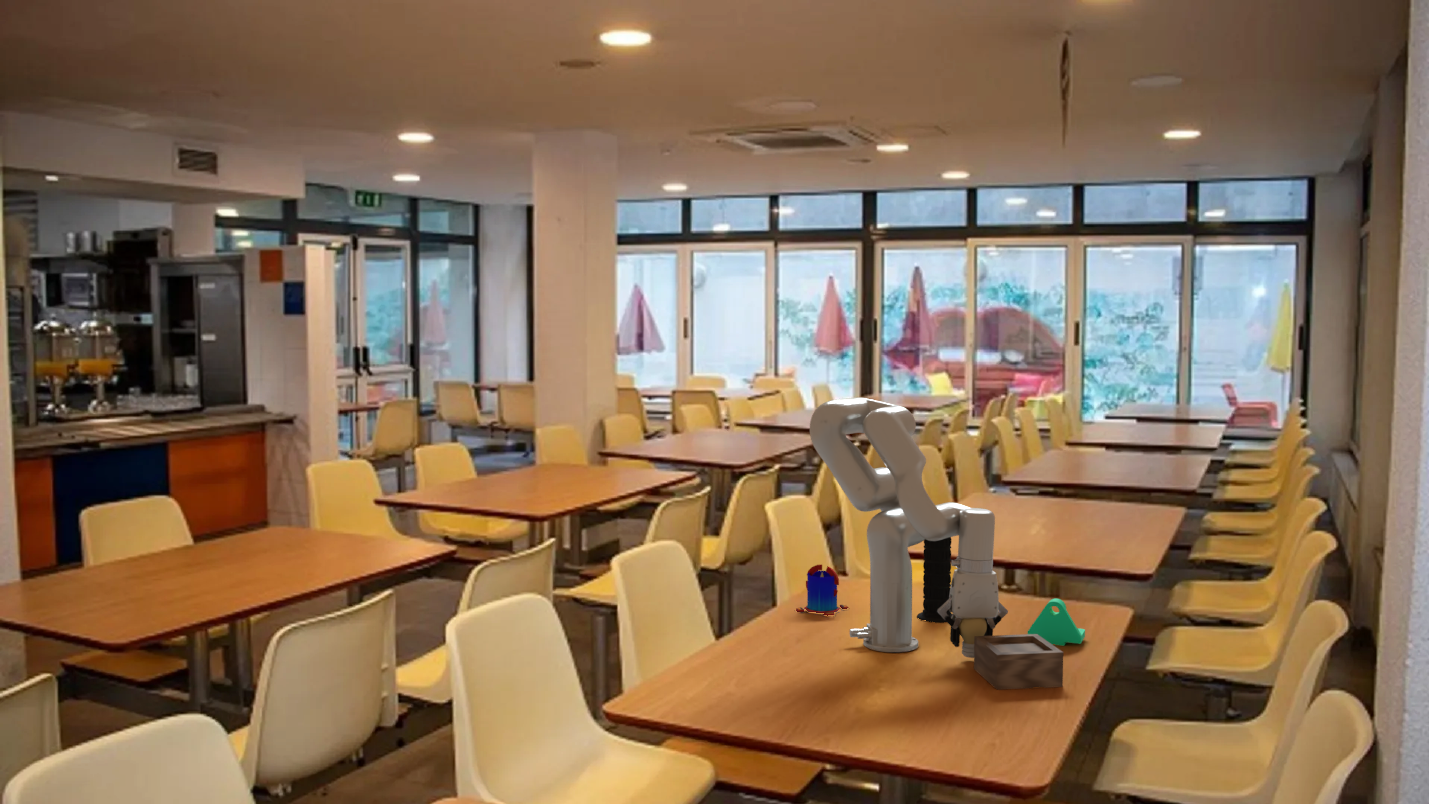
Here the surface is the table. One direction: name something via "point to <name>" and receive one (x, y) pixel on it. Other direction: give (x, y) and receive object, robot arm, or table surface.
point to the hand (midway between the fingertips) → (971, 644)
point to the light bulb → (971, 633)
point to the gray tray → (1018, 661)
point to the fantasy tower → (822, 591)
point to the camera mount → (1057, 625)
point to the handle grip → (936, 579)
